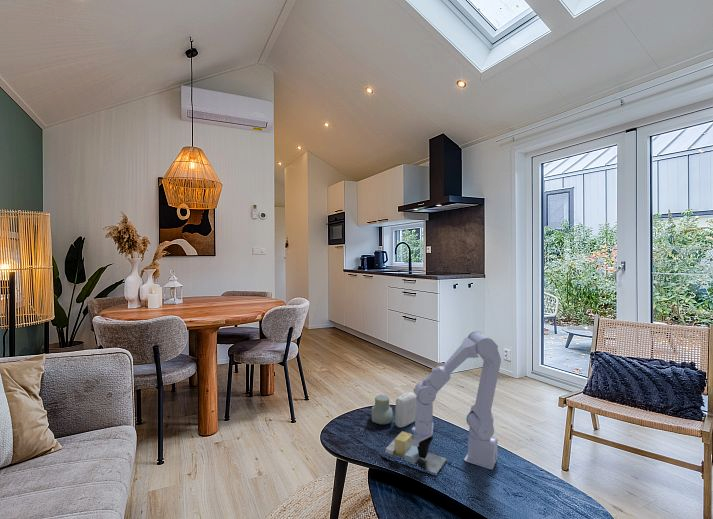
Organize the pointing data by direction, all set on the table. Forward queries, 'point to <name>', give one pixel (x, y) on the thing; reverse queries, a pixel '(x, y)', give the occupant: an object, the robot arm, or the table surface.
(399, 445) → the brass block
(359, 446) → the table surface
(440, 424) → the table surface
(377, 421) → the air freshener
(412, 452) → the block
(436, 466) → the vise
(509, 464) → the table surface
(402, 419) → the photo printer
